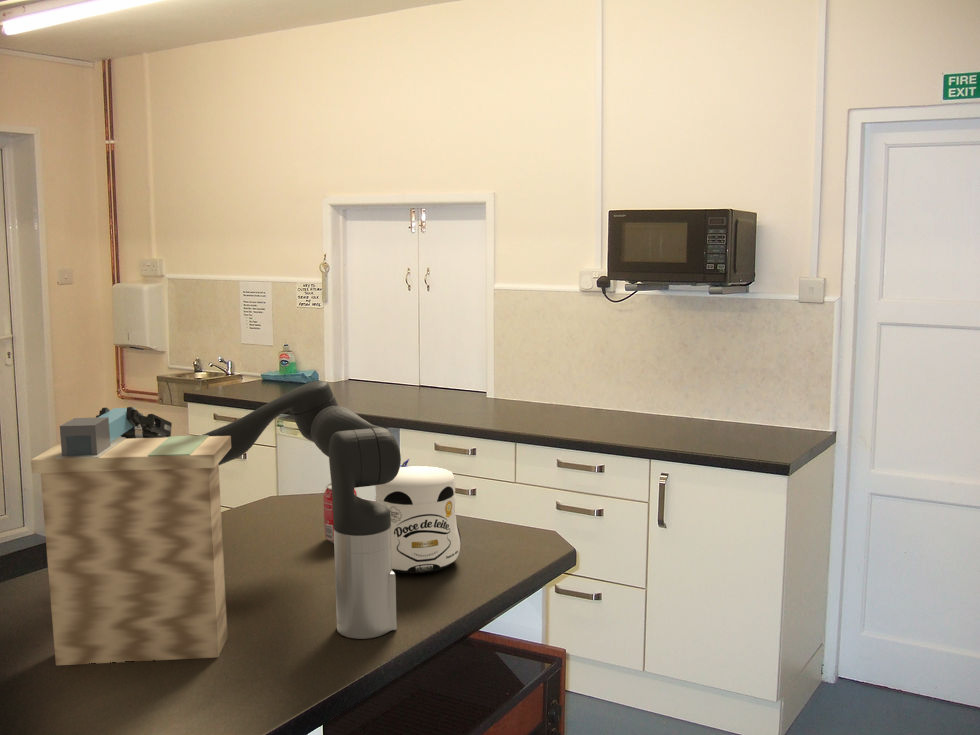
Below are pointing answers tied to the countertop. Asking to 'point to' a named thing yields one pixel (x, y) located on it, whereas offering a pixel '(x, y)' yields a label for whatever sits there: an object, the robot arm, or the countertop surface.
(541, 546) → the countertop surface
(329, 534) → the soda can
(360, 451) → the robot arm
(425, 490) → the doce de leite tub
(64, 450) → the two-tone rectangular bar
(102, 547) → the wavy striped plinth
